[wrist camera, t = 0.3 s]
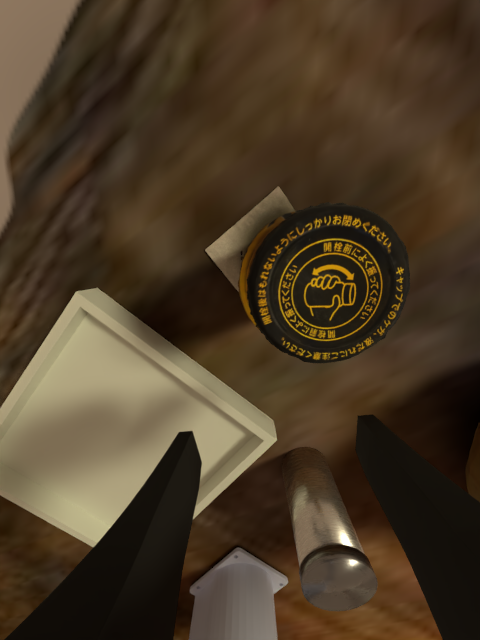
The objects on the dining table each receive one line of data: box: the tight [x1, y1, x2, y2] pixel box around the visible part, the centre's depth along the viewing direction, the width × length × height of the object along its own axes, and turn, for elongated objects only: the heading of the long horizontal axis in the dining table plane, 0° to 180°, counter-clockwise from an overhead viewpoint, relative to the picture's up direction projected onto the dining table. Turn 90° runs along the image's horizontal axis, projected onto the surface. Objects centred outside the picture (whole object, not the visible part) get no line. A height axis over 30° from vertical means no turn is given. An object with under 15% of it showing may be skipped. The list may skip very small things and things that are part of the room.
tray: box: [0, 288, 277, 547], centre depth 22 cm, size 22×20×2 cm
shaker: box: [281, 447, 377, 611], centre depth 19 cm, size 5×5×9 cm
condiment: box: [205, 186, 410, 363], centre depth 13 cm, size 7×8×12 cm
